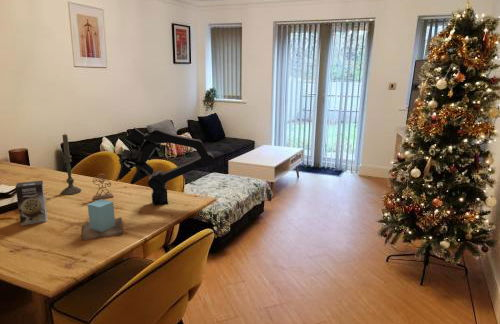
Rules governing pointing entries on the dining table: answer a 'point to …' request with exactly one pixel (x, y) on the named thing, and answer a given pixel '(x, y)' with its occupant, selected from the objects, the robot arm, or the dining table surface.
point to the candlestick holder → (68, 170)
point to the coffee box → (31, 202)
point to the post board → (112, 231)
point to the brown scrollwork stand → (102, 190)
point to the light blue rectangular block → (101, 215)
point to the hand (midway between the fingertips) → (124, 181)
